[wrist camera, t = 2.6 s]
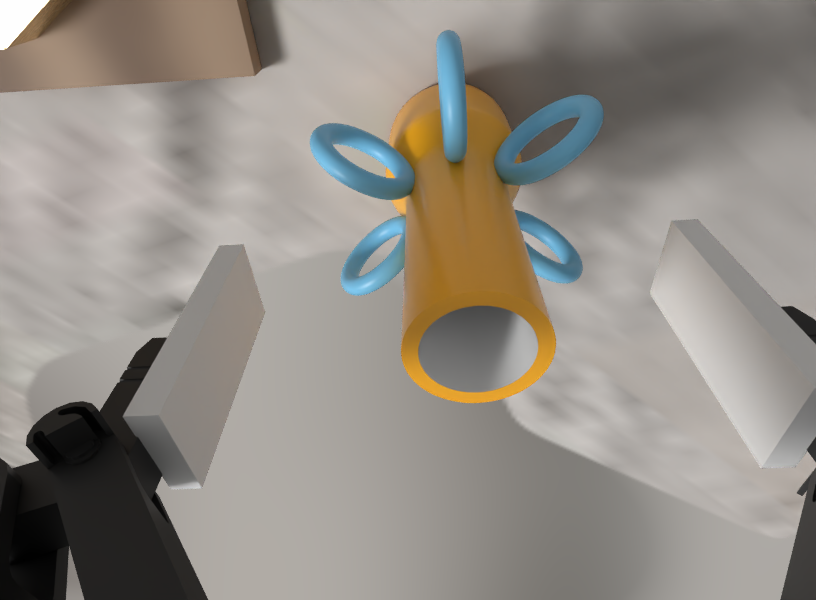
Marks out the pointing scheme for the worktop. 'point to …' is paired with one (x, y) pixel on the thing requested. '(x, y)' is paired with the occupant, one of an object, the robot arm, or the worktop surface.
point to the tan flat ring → (26, 19)
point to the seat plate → (134, 45)
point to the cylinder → (463, 231)
